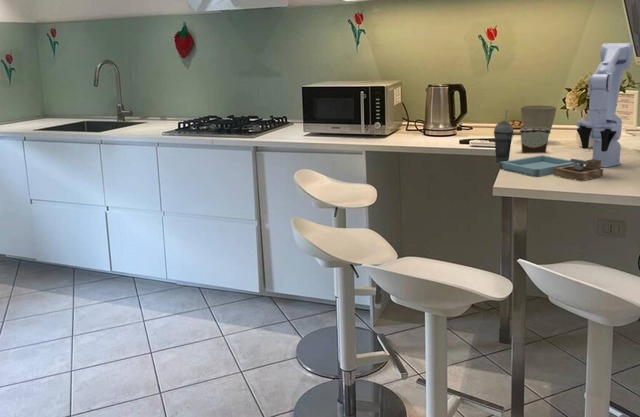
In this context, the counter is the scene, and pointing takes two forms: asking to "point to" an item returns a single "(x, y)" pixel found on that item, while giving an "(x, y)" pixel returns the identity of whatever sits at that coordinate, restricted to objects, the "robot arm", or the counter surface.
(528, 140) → the food container
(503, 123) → the beverage cup
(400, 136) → the counter surface
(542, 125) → the plant pot
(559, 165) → the tray
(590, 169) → the frame
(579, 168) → the stake
